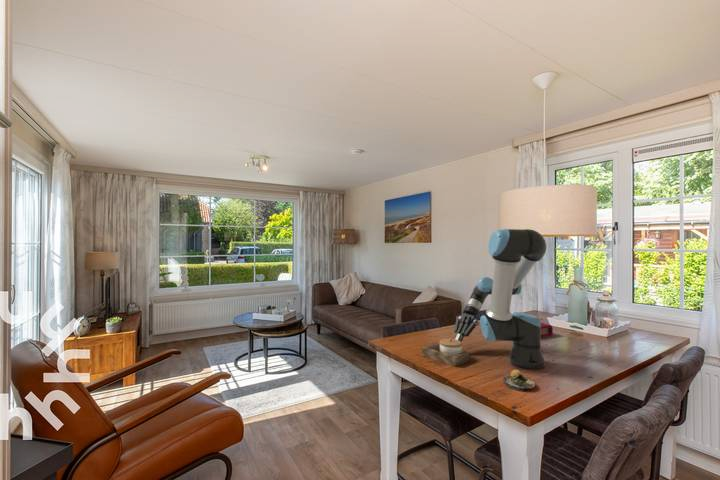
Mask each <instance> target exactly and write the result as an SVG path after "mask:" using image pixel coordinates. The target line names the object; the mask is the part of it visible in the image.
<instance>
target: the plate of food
mask: <svg viewBox="0 0 720 480" xmlns="http://www.w3.org/2000/svg"><path fill="white" fill-rule="evenodd" d="M511 368H512V370H511V371H510V375H506V376H504V377H503V380H502V381H503V385H504V386H505V387H507V388H508V389H510V390H512V391H513V390H515V391H517V392H518V391H519V392H524V390H529V389H533V388H534V387H535V386H536V383H535V382H534V381H533V380H532V379H529V378H528V377H525V376H524V375H523V374H521V370H520V369H514V367H513V366H511Z"/></svg>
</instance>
